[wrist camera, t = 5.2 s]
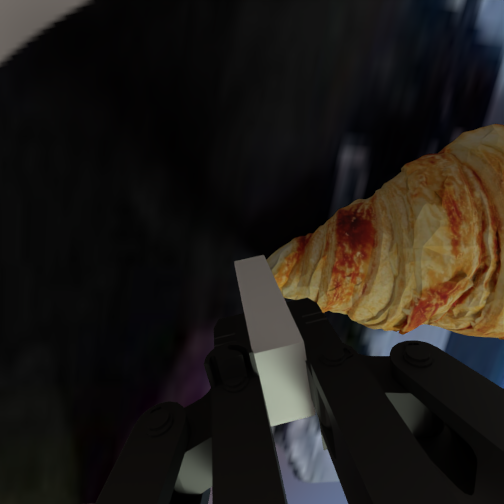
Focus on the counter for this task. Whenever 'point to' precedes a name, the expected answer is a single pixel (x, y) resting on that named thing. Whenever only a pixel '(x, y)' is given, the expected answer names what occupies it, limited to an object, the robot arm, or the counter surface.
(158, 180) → the counter surface
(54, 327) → the counter surface
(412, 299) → the croissant
